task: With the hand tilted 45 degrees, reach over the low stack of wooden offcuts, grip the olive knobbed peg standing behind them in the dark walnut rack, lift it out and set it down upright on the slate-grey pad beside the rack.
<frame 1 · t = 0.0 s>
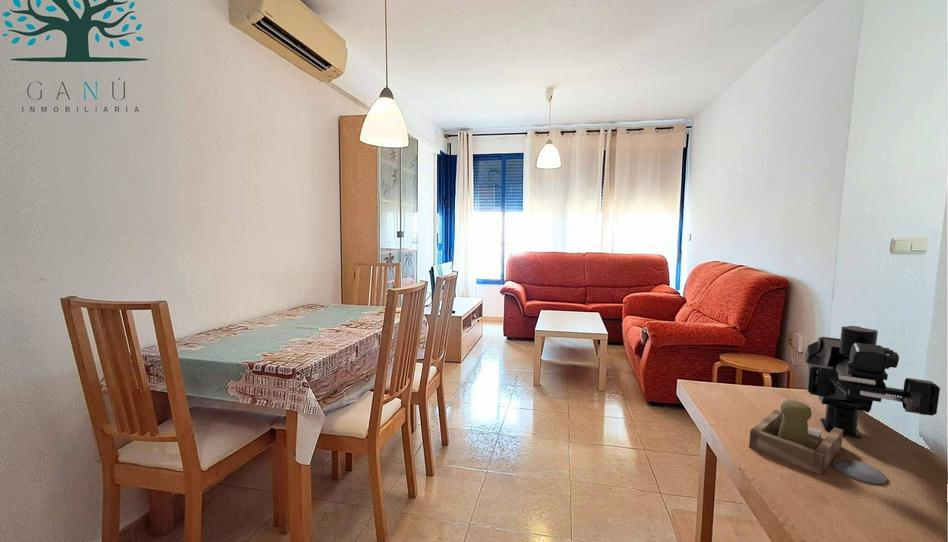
hand: (881, 403, 72), 17 cm above the table, tool horizontal, fingers open, 9 cm apart
offcut stack: (802, 440, 90), on the table
walnut rack: (792, 450, 86), on the table
olive knobbed peg: (792, 451, 86), resting in walnut rack
slate pad: (858, 471, 78), on the table
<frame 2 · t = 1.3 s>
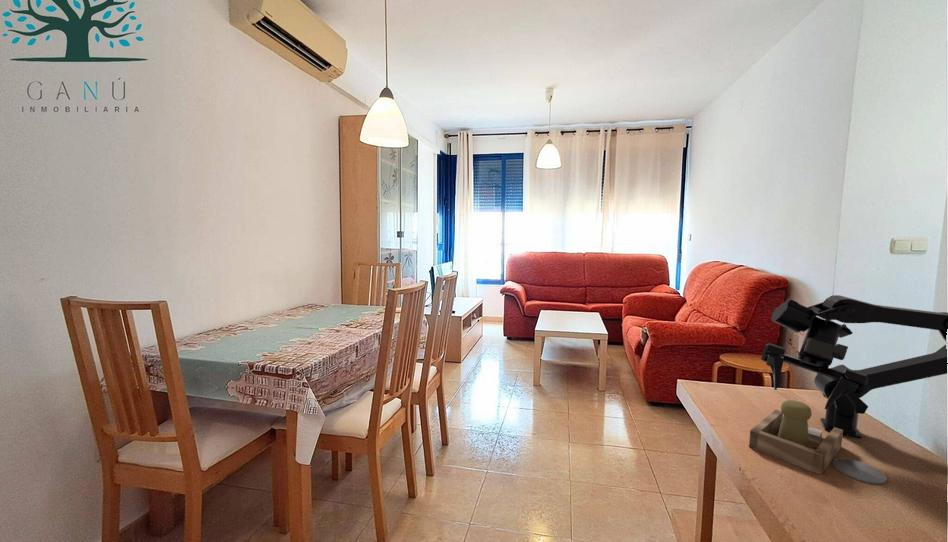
hand: (799, 398, 89), 10 cm above the table, tool tilted 40°, fingers open, 9 cm apart
nothing on the table moved.
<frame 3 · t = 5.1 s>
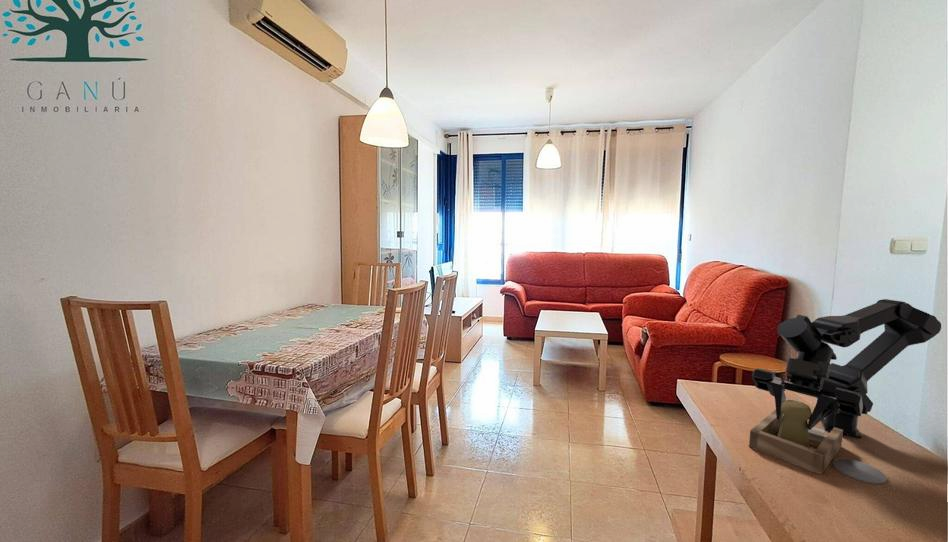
hand: (792, 423, 84), 7 cm above the table, tool tilted 45°, fingers closed on olive knobbed peg, 5 cm apart
olive knobbed peg: (792, 450, 86), resting in walnut rack, touching gripper
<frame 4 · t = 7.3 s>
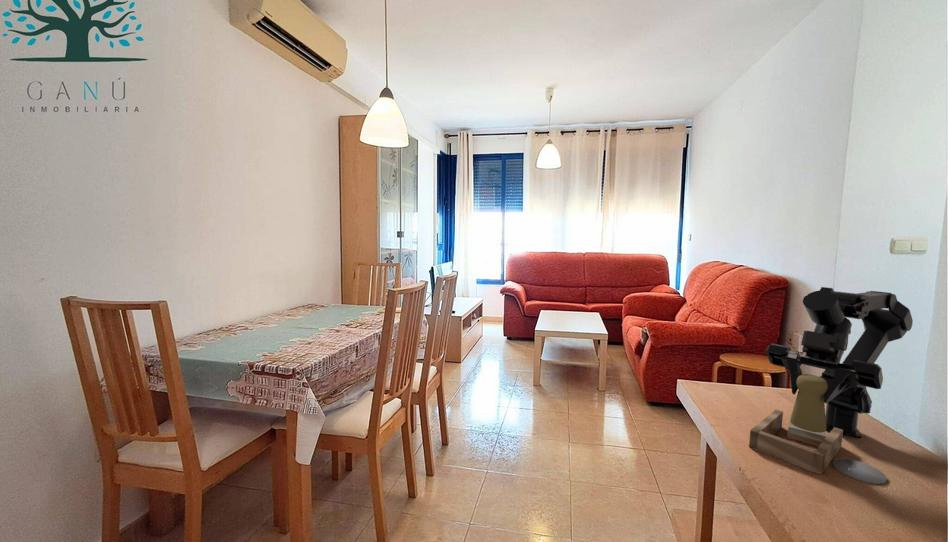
hand: (808, 397, 82), 13 cm above the table, tool tilted 45°, fingers closed on olive knobbed peg, 5 cm apart
olive knobbed peg: (807, 425, 84), point 6 cm above the table, touching gripper
when the fingers open (8 cm above the table, at t = 9.9 s): olive knobbed peg drops 1 cm, resting on slate pad.
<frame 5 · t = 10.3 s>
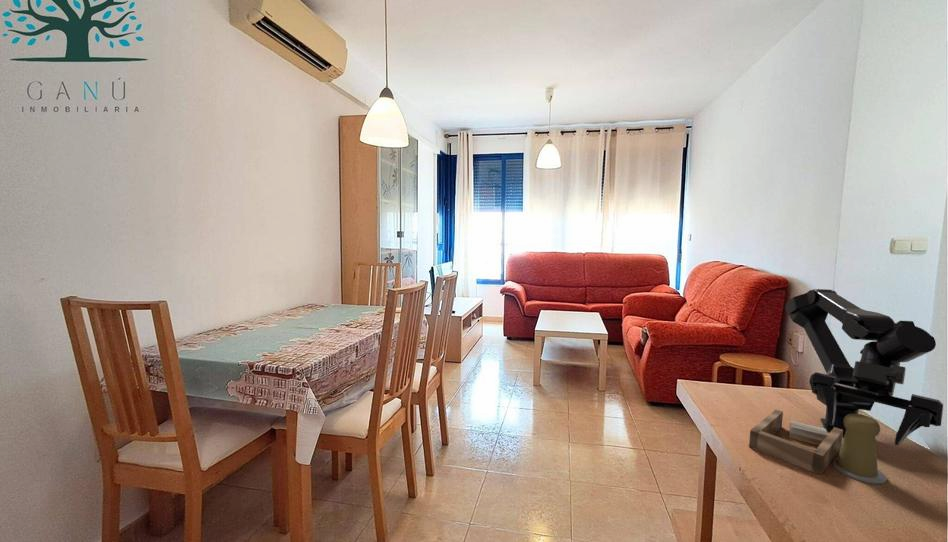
hand: (861, 433, 76), 9 cm above the table, tool tilted 45°, fingers open, 9 cm apart
olive knobbed peg: (856, 469, 78), resting on slate pad
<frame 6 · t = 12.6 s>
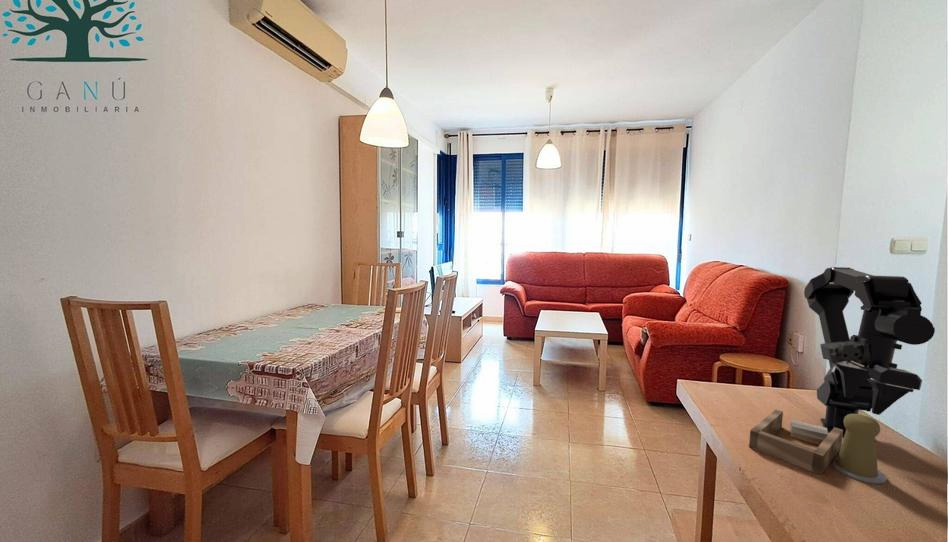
hand: (860, 405, 83), 11 cm above the table, tool pointing down, fingers open, 9 cm apart
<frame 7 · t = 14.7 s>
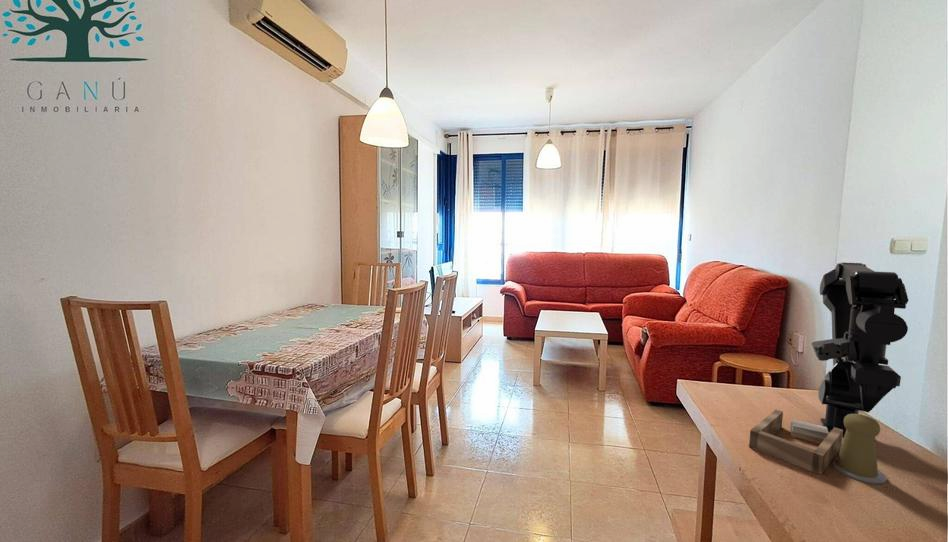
hand: (859, 402, 83), 12 cm above the table, tool pointing down, fingers open, 9 cm apart
at the end: olive knobbed peg 0.4 cm off-centre on the slate pad, point 0.3 cm above the slate pad's base; olive knobbed peg tilted 0°; the gripper is holding nothing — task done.
